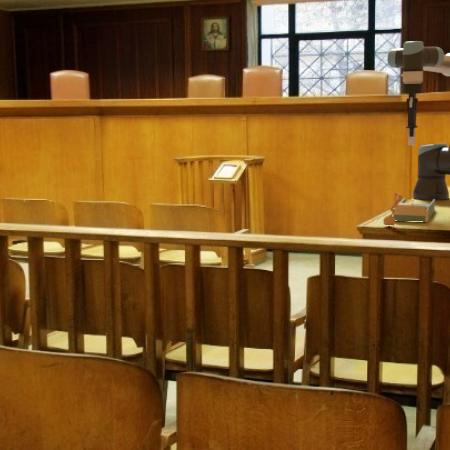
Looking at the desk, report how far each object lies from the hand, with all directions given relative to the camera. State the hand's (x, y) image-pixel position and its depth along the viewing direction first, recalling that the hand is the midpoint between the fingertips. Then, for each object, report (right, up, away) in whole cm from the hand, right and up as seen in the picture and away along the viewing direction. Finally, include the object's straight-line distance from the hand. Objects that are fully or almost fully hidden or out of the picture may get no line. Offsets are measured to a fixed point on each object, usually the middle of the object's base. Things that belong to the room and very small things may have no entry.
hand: (411, 145), depth 300 cm
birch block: (-8, -26, -22) cm, 35 cm away
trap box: (-2, -28, -13) cm, 31 cm away
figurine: (-15, -32, -36) cm, 51 cm away
